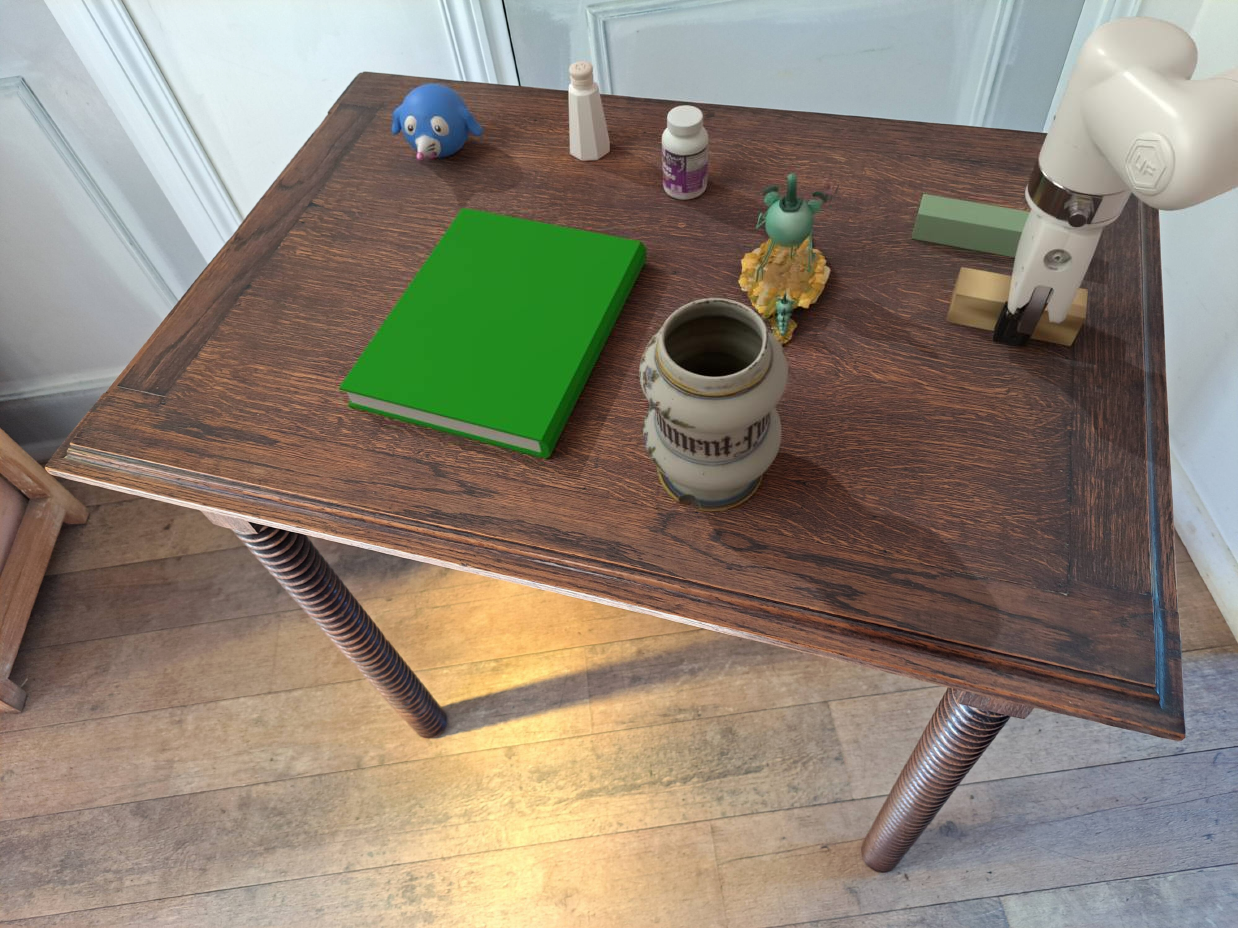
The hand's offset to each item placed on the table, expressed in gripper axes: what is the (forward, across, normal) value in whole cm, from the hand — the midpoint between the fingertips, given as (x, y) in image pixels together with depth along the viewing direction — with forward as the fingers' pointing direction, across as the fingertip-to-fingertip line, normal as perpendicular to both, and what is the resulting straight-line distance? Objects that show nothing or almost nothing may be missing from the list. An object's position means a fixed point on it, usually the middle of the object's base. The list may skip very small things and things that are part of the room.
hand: (1009, 338), depth 84 cm
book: (+2, -12, +50) cm, 51 cm away
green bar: (+2, +15, +3) cm, 16 cm away
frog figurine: (+2, +2, +24) cm, 24 cm away
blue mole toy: (+2, +13, +70) cm, 72 cm away
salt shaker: (+2, +20, +52) cm, 56 cm away
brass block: (+1, +4, 0) cm, 4 cm away
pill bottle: (+2, +16, +38) cm, 41 cm away
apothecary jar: (+2, -22, +24) cm, 33 cm away
